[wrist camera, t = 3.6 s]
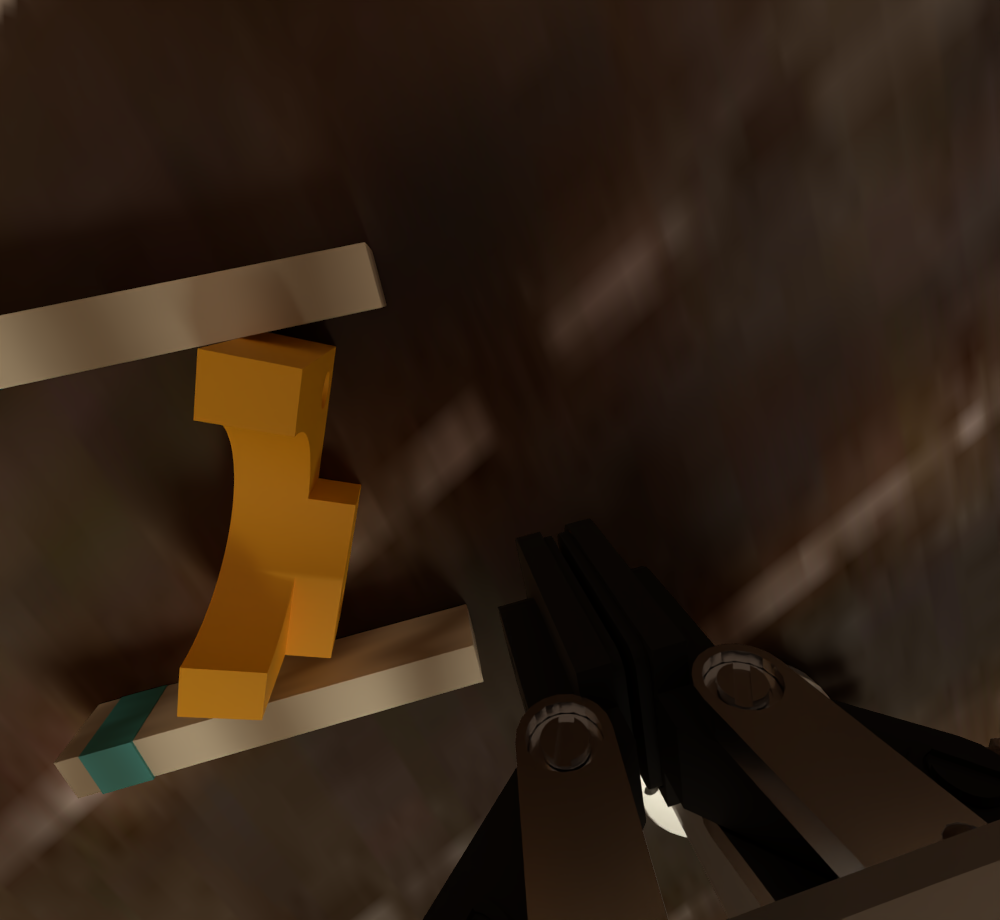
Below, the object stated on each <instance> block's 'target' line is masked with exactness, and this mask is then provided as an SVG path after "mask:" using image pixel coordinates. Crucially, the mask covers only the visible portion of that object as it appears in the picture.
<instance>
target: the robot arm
mask: <svg viewBox="0 0 1000 920" xmlns="http://www.w3.org/2000/svg"><path fill="white" fill-rule="evenodd" d="M558 544H559V548H558V546H557V545H556V543H555V541H554V539H553V538H552V536H548V537H544V538H543V536H542V534H541V533H540V532H537V533H534V534H530V535H526V536H523V537H519V538H516V546H517V551H518V556H519V561H520V565H521V570H522V575H523V580H524V584H525V589H526V594H527V599H525V600H522V601H518V602H515V603H511V604H507V605H504V606H500V607H498V610H499V614H500V619H501V623H502V627H503V631H504V635H505V639H506V643H507V647H508V651H509V655H510V659H511V663H512V666H513V670H514V674H515V677H516V681H517V684H518V688H519V691H520V695H521V698H522V702H523V705H524V709H525V712H526V713H525V714H524V715H523V716H522V718H521V720H520V723H519V725H518V727H517V729H516V739H515V749H516V762H517V768H516V769H515V771H514V773H513V774H512V776H511V777H510V779H509V781H508V782H507V784H506V786H505V787H504V789H503V790H502V792H501V794H500V795H499V797H498V799H497V800H496V802H495V803H494V805H493V807H492V808H491V810H490V812H489V813H488V815H487V816H486V818H485V820H484V821H483V823H482V825H481V826H480V828H479V829H478V831H477V833H476V834H475V836H474V837H473V839H472V841H471V842H470V844H469V846H468V847H467V849H466V850H465V852H464V854H463V855H462V857H461V859H460V860H459V862H458V863H457V865H456V867H455V868H454V870H453V872H452V873H451V875H450V876H449V878H448V880H447V881H446V883H445V885H444V886H443V888H442V889H441V891H440V893H439V894H438V896H437V898H436V899H435V901H434V902H433V904H432V906H431V907H430V909H429V911H428V912H427V914H426V915H425V917H424V919H423V920H668V917H667V913H666V910H665V906H664V903H663V899H662V896H661V892H660V889H659V885H658V882H657V878H656V875H655V871H654V868H653V864H652V861H651V857H650V854H649V850H648V847H647V843H646V840H645V836H644V833H643V828H644V826H645V823H646V816H645V812H646V814H647V815H648V816H649V817H650V818H651V819H652V821H653V822H654V823H655V824H656V825H658V826H660V827H661V828H663V829H665V830H666V831H668V832H671V833H674V834H677V835H680V836H683V837H687V838H688V840H689V842H690V844H691V846H692V847H693V849H694V851H695V853H696V855H697V857H698V859H699V861H700V863H701V865H702V867H703V869H704V871H705V873H706V875H707V877H708V879H709V881H710V883H711V885H712V887H713V889H714V891H715V893H716V895H717V897H718V899H719V901H720V903H721V905H722V907H723V909H724V911H725V913H726V915H727V917H728V919H727V920H1000V738H992V739H990V743H989V747H984V746H982V745H981V744H978V743H975V742H973V741H970V740H968V739H965V738H962V737H960V736H957V735H953V734H950V733H946V732H943V731H939V730H936V729H932V728H929V727H925V726H922V725H918V724H915V723H911V722H908V721H905V720H901V719H898V718H894V717H891V716H887V715H884V714H880V713H877V712H873V711H870V710H866V709H863V708H859V707H856V706H852V705H849V704H845V703H842V702H838V701H835V700H831V699H830V698H829V697H828V696H827V694H826V693H825V692H824V691H823V690H822V688H821V687H820V686H819V685H817V684H816V683H815V682H814V681H813V680H812V679H811V678H810V677H809V676H807V675H806V674H805V673H804V672H802V671H800V670H798V669H796V668H794V667H792V666H790V665H786V664H785V663H783V662H782V661H781V660H780V659H778V658H776V657H775V656H773V655H771V654H770V653H768V652H767V651H764V650H761V649H758V648H756V647H753V646H749V645H742V644H721V645H717V646H714V645H713V643H712V642H711V641H710V640H709V639H708V638H707V636H706V635H705V634H704V633H703V632H702V631H701V629H700V628H699V627H698V626H697V625H696V624H695V622H694V621H693V620H692V619H691V618H690V617H689V615H688V614H687V613H686V612H685V611H684V610H683V608H682V607H681V606H680V605H679V604H678V603H677V601H676V600H675V599H674V598H673V597H672V596H671V594H670V593H669V592H668V591H667V590H666V589H665V587H664V586H663V585H662V584H661V583H660V582H659V580H658V579H657V578H656V577H655V576H654V575H653V573H652V572H651V571H650V570H649V569H648V568H647V567H644V566H641V567H638V568H634V569H630V568H629V567H628V565H627V564H626V563H625V562H624V560H623V559H622V558H621V557H620V555H619V554H618V553H617V552H616V550H615V549H614V548H613V547H612V545H611V544H610V543H609V542H608V540H607V539H606V538H605V536H604V535H603V534H602V533H601V531H600V530H599V529H598V528H597V526H596V525H595V524H594V523H593V521H592V520H591V519H586V520H582V521H578V522H574V523H571V524H567V525H565V532H563V533H559V534H558ZM559 549H560V550H559Z"/></svg>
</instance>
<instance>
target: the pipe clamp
mask: <svg viewBox="0 0 1000 920" xmlns="http://www.w3.org/2000/svg"><path fill="white" fill-rule="evenodd" d="M335 351H336V346H332V345H327V344H322V343H318V342H313V341H308V340H303V339H298V338H294V337H289V336H284V335H279V334H274V333H269V332H265V333H260V334H255V335H250V336H246V337H242V338H238V339H234V340H230V341H226V342H222V343H218V344H214V345H210V346H206V347H202V348H198V350H197V368H196V386H195V404H194V420H195V421H201V422H207V423H213V424H219V425H223V426H224V428H225V430H226V432H227V434H228V437H229V439H230V443H231V447H232V453H233V462H234V497H233V508H232V516H231V523H230V529H229V535H228V540H227V545H226V550H225V554H224V558H223V562H222V566H221V570H220V573H219V577H218V580H217V584H216V587H215V590H214V593H213V596H212V599H211V602H210V605H209V607H208V610H207V613H206V615H205V618H204V620H203V623H202V625H201V627H200V630H199V632H198V634H197V636H196V638H195V640H194V643H193V645H192V647H191V649H190V650H189V652H188V654H187V656H186V658H185V660H184V661H183V663H182V665H181V666H180V671H179V688H178V706H177V717H195V718H219V719H242V720H262V719H263V716H264V713H265V710H266V707H267V704H268V702H269V699H270V696H271V693H272V690H273V688H274V685H275V682H276V679H277V676H278V673H279V671H280V668H281V665H282V662H283V659H284V657H285V655H292V656H306V657H321V658H331V655H332V651H333V646H334V642H335V637H336V633H337V628H338V624H339V620H340V615H341V610H342V603H343V597H344V591H345V584H346V578H347V572H348V566H349V559H350V553H351V547H352V540H353V534H354V528H355V522H356V515H357V509H358V503H359V496H360V490H361V484H354V483H348V482H341V481H334V480H328V479H321V478H319V472H320V464H321V457H322V449H323V441H324V434H325V426H326V419H327V411H328V404H329V396H330V389H331V381H332V374H333V366H334V359H335Z"/></svg>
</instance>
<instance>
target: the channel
mask: <svg viewBox="0 0 1000 920" xmlns="http://www.w3.org/2000/svg"><path fill="white" fill-rule="evenodd" d="M384 306H387V304H386V301H385V297H384V293H383V289H382V286H381V282H380V278H379V274H378V271H377V267H376V263H375V259H374V256H373V252H372V250H371V249H370V248H369V246H368V245H367V244H366V243H365V242H363V243H358V244H353V245H348V246H343V247H338V248H333V249H328V250H323V251H318V252H313V253H308V254H303V255H298V256H293V257H288V258H283V259H279V260H274V261H269V262H264V263H259V264H254V265H249V266H244V267H239V268H234V269H229V270H224V271H219V272H214V273H209V274H204V275H199V276H194V277H189V278H184V279H179V280H174V281H169V282H164V283H159V284H154V285H149V286H144V287H139V288H134V289H129V290H124V291H119V292H114V293H109V294H104V295H99V296H94V297H89V298H85V299H80V300H75V301H70V302H65V303H60V304H55V305H50V306H45V307H40V308H35V309H30V310H25V311H20V312H15V313H10V314H5V315H0V390H1V389H3V388H7V387H12V386H17V385H21V384H26V383H31V382H35V381H40V380H45V379H49V378H54V377H59V376H63V375H68V374H73V373H77V372H82V371H87V370H91V369H96V368H101V367H105V366H110V365H115V364H119V363H124V362H129V361H134V360H138V359H143V358H148V357H152V356H157V355H162V354H166V353H171V352H176V351H180V350H185V349H190V348H194V347H199V346H204V345H208V344H213V343H218V342H222V341H227V340H232V339H236V338H241V337H246V336H250V335H255V334H260V333H265V332H269V331H274V330H279V329H283V328H288V327H293V326H297V325H302V324H307V323H311V322H316V321H321V320H325V319H330V318H335V317H339V316H344V315H349V314H353V313H358V312H363V311H367V310H372V309H377V308H381V307H384ZM480 682H483V677H482V672H481V666H480V661H479V655H478V650H477V644H476V639H475V634H474V631H473V627H472V623H471V619H470V616H469V612H468V608H467V604H465V605H461V606H457V607H454V608H450V609H446V610H443V611H439V612H435V613H432V614H428V615H424V616H421V617H417V618H413V619H410V620H406V621H402V622H399V623H395V624H391V625H388V626H384V627H381V628H377V629H373V630H370V631H366V632H362V633H359V634H355V635H351V636H348V637H344V638H340V639H337V640H335V642H334V646H333V651H332V655H331V658H321V657H306V656H292V655H285V657H284V659H283V662H282V665H281V668H280V671H279V673H278V676H277V679H276V682H275V685H274V688H273V690H272V693H271V696H270V699H269V702H268V704H267V707H266V710H265V713H264V716H263V719H262V720H242V719H219V718H195V717H177V706H178V688H179V683H175V684H172V685H168V686H167V685H165V686H161V687H157V688H154V689H150V690H146V691H143V692H139V693H135V694H132V695H128V696H124V697H121V698H120V699H117V700H113V701H110V702H106V703H102V704H99V705H98V706H97V708H96V709H95V710H94V712H93V713H92V714H91V715H90V717H89V718H88V719H87V721H86V722H85V723H84V725H83V726H82V727H81V728H80V730H79V731H78V732H77V734H76V735H75V736H74V738H73V739H72V740H71V741H70V743H69V744H68V745H67V747H66V748H65V749H64V751H63V752H62V753H61V754H60V756H59V757H58V758H57V760H56V761H55V762H54V765H55V766H56V767H57V769H58V770H59V772H60V773H61V774H62V776H63V777H64V779H65V780H66V782H67V783H68V784H69V786H70V787H71V789H72V790H73V791H74V793H75V794H76V796H77V797H78V798H81V797H85V796H88V795H92V794H95V793H98V792H102V793H103V794H105V793H108V792H112V791H115V790H119V789H122V788H126V787H129V786H133V785H136V784H140V783H143V782H147V781H150V780H153V779H154V778H155V776H157V775H161V774H164V773H168V772H171V771H175V770H178V769H182V768H185V767H189V766H192V765H195V764H199V763H202V762H206V761H209V760H213V759H216V758H220V757H223V756H227V755H230V754H234V753H237V752H241V751H244V750H247V749H251V748H254V747H258V746H261V745H265V744H268V743H272V742H275V741H279V740H282V739H286V738H289V737H293V736H296V735H299V734H303V733H306V732H310V731H313V730H317V729H320V728H324V727H327V726H331V725H334V724H338V723H341V722H344V721H348V720H351V719H355V718H358V717H362V716H365V715H369V714H372V713H376V712H379V711H383V710H386V709H390V708H393V707H396V706H400V705H403V704H407V703H410V702H414V701H417V700H421V699H424V698H428V697H431V696H435V695H438V694H442V693H445V692H448V691H452V690H455V689H459V688H462V687H466V686H469V685H473V684H476V683H480Z"/></svg>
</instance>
